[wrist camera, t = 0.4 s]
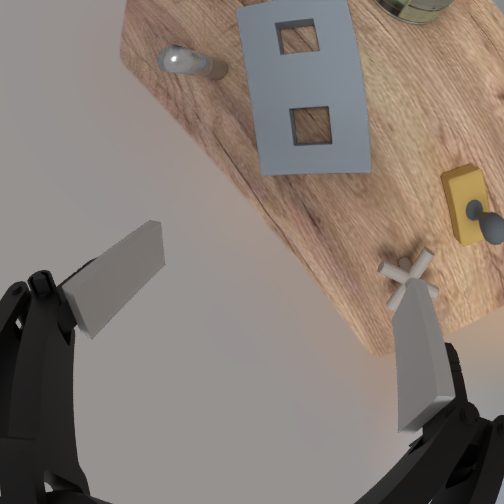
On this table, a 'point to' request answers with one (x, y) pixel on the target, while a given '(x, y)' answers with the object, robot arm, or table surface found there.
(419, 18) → the coffee can
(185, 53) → the pin
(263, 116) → the socket board
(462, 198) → the rubber stamp
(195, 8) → the table surface
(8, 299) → the robot arm
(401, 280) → the pipe connector
